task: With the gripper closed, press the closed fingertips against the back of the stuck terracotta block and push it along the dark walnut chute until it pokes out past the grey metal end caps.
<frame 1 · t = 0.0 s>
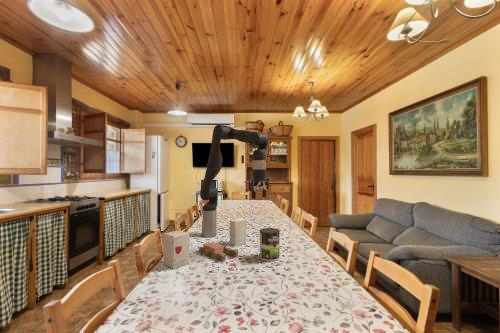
hand: (259, 197, 143), 29 cm above the table, tool pointing down, fingers open, 8 cm apart
terracotta block: (213, 248, 139), point 2 cm above the table, slide at 0.0 cm
supplement box: (176, 264, 123), on the table
walnut chute: (218, 254, 137), on the table
skincare box: (237, 244, 155), on the table
coffee can: (269, 258, 133), on the table
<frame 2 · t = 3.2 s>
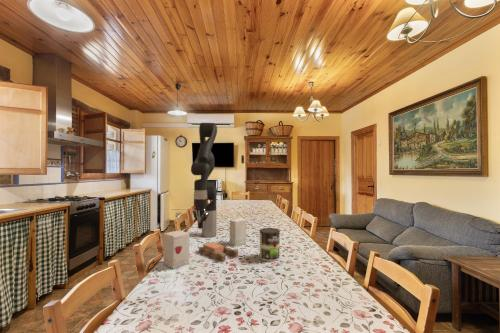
hand: (200, 228, 147), 11 cm above the table, tool pointing down, fingers closed
nothing on the table moved.
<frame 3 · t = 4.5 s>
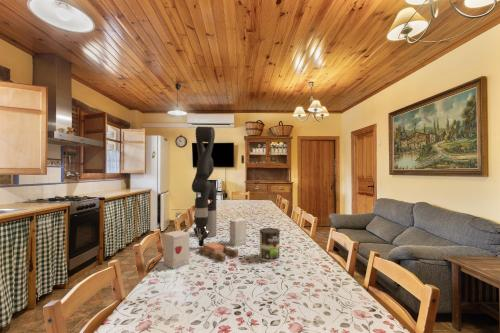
hand: (201, 246, 147), 2 cm above the table, tool pointing down, fingers closed
nothing on the table moved.
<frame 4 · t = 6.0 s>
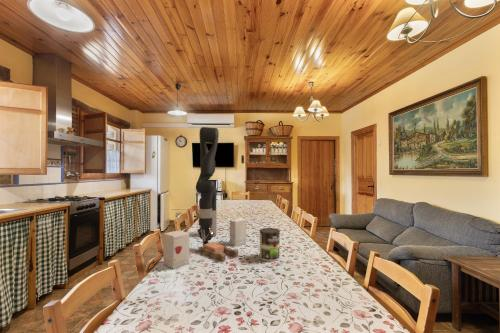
hand: (205, 247, 144), 2 cm above the table, tool pointing down, fingers closed
terracotta block: (213, 249, 139), point 2 cm above the table, slide at 0.3 cm, touching gripper
everything else where it was.
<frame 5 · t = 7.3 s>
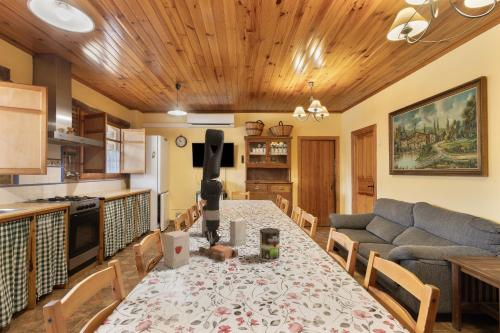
hand: (212, 250, 140), 2 cm above the table, tool pointing down, fingers closed
terracotta block: (221, 251, 135), point 2 cm above the table, slide at 6.7 cm, touching gripper
everything else where it was.
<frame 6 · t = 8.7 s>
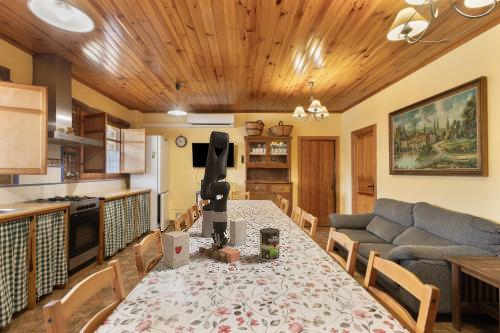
hand: (219, 252, 135), 2 cm above the table, tool pointing down, fingers closed
terracotta block: (229, 254, 130), point 2 cm above the table, slide at 12.9 cm, touching gripper
everything else where it was.
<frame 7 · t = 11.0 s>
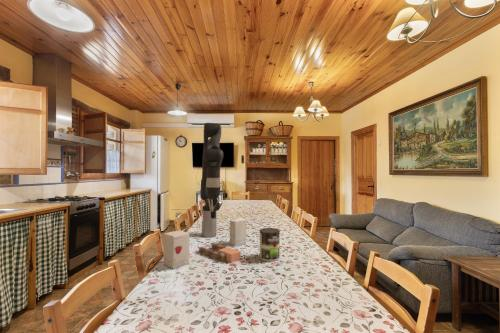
hand: (213, 218, 139), 19 cm above the table, tool pointing down, fingers closed
terracotta block: (229, 254, 130), point 2 cm above the table, slide at 13.0 cm
everything else where it was.
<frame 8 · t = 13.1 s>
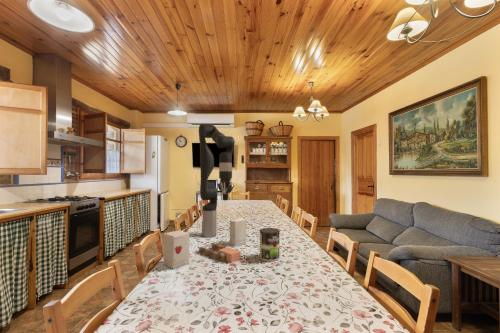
hand: (225, 200, 151), 27 cm above the table, tool pointing down, fingers closed
nothing on the table moved.
at the end: terracotta block slide at 13.0 cm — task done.
